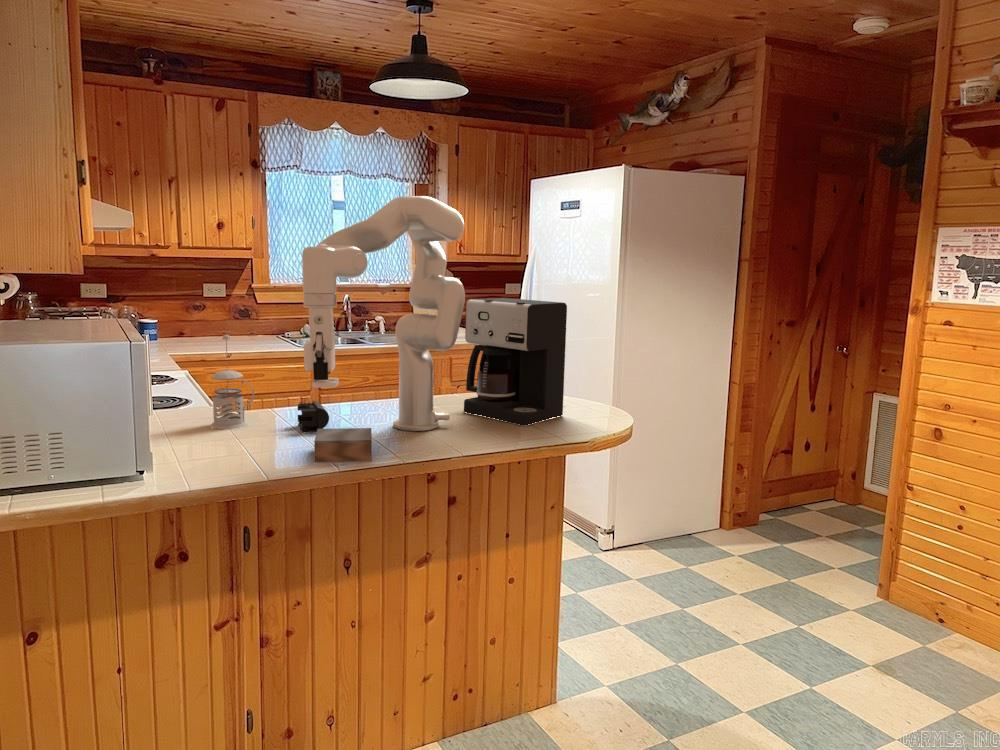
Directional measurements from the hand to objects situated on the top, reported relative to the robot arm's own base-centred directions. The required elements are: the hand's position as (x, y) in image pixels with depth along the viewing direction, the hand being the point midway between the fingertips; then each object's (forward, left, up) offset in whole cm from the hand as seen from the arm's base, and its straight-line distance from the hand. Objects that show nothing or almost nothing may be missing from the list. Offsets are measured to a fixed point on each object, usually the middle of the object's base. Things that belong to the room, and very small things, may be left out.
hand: (322, 376), depth 177 cm
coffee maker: (-53, -42, -19) cm, 71 cm away
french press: (+26, -32, -19) cm, 46 cm away
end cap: (+4, -27, -19) cm, 34 cm away
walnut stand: (-5, +1, -19) cm, 20 cm away
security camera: (0, 0, -2) cm, 2 cm away
